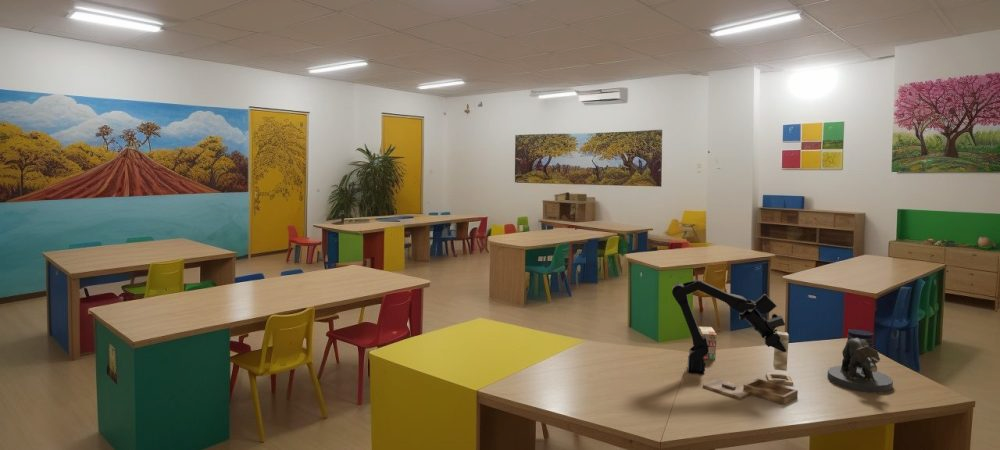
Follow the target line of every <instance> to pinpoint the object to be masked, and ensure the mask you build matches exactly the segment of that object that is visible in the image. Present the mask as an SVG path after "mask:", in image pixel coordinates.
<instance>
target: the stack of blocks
mask: <svg viewBox="0 0 1000 450" xmlns="http://www.w3.org/2000/svg"><path fill="white" fill-rule="evenodd" d="M698 328H699V331H700V333H701V334H702V336H704V335H706V339H707V341H708V342H709V348H708V350H709V351H708V354H707V355H706V356H704V357H703V358H704V360H714V361H715V360H716V358H717V357H716V356H717V355H716V352H717V350H716V349H717V348H716V347H717V335H718V334H717V333H716V331H715V329H714V328H713V327H712V326H698Z"/></svg>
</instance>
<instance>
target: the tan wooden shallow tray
mask: <svg viewBox="0 0 1000 450" xmlns="http://www.w3.org/2000/svg"><path fill="white" fill-rule="evenodd" d="M742 387H743V390H747V391H750V392H751V395H750V396H755V397H758V398H761V399H764V400H767V401H770V402H774V403H777V404H780V405H783V406H784V405H786V404H788V403H791V402H793V401H794V400H796V399H798V392H799V391H798V389H796V388H795V389H794V388H791V387H788V386H784V385H782V384H777V383H771V382H768V380H764V379H762V378H756V379H753V380H751V381H748V382H746V383H744V384H743V386H742Z"/></svg>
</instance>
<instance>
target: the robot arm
mask: <svg viewBox="0 0 1000 450" xmlns="http://www.w3.org/2000/svg"><path fill="white" fill-rule="evenodd" d="M671 289H672V290H671V293H672V296H673V298H674V300H675V301H676V302H677V303H678V306H680V309H681V311H682V315H683V316H684V319H685V322H686V325H687V327H688V329H689V332H690V336H691V338H692V344H693V346H691V347H690V348H689V350H688V353H689V355H687V367H686V368H687V372H688V373H689V374H701V375H704V374H705V371H706V361H705V359H704V358H703V357H704V356H706V355H707V354H708V351H709V350H708V348H709V342H708V341H707V339H706V335H704V336H702V334H701V333H700V331H699V326H698V323H697V321H696V319H695V316H694V313H693V311H692V309H691V308H692V307H691V305H690V303H689V299H688V298H689V297H688V295H690V294H692V293H694V292H696V291H700V292H702V293H705V294H707V295H709V296H710V297H713V298H715V299H717V300H720V301H722V302H724V303H725V304H727V306H729V307H731V308H732V309H733V310H735V311H736V312H737V313H738V314H739V322H740V321H741V322H742V321H743V320H744V319H745V321H747V322H748V324H749V325H751V327H752V328H753V330H754V331H756V332H757V333H758V334H759V335H760V336H761V338H762V339H763V342H764V344H765V345H766V346H767V347H768V348H770V347H771V348H773V349H774V348H776V349H778V350H780V351H782V352H786V349H785V348H784V346H783V345H782V343H781V342H780V338H781V337H780V335H779V334H778V333H777V332H779V331H778V329H776V328H779V327H784V326H786V323H785V320H784V318H783V316H782V315H780V314H779V315H778V314H777V313H772V314H771V318H769V319H767V318H765V317H763V316H762V315H768V314H769V313H770V312H771V311H773V310H774V309H776V308H777V307H778V306H777V304H776V303H775V302H774V301H773V299H771V298H770V297H769V296H768V295H767V294H765V293H763V294H762V295H761V296H760V297H759V298H758V299H756V300H752V299H746V297H744V296H743V295H738V294H735V293H730V292H726V291H724V290H722V289H720V288H718V287H716V286H713V285H711V284H709V283H707V282H705V281H703V280H702V279H700V278H699V279H695V280H692V281H686V282H683V283H681V282H677V283H675V284H673V286H672V288H671ZM775 331H776V332H775Z"/></svg>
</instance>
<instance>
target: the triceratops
mask: <svg viewBox="0 0 1000 450" xmlns="http://www.w3.org/2000/svg"><path fill="white" fill-rule="evenodd" d="M847 340H848V339H847ZM847 340H846V342H845V345H844V348H843V349H842V351H841V352H842V357H843V359H842V361H841V363H842V364H841V365H836V366H831V367H829V368H828V370H827V379H828V381H830V382H831V383H832V384H835V385H837V386H839V387H843V388H845V389H848V390H852V391H856V392H857V391H858V392H862V393H863V392H865V393H873V394H874V393H875V392H876V393H875V394H880V393H879V392H882V393H888V392H890V391H892V390H893V387H894V386H893V384H894V380H893V379H892V377H891V376H889V375H887V374H885V373H883V372H881V371H878V366H877V363H879V362H881V358H880V355H879V352H878V350H876V349H874V348H873V347H872V348H870V346H869V344H868V343H867V342H866V341H865V340H864V339H859V338H855V339H849V340H848V341H847ZM850 359H851V361H850ZM849 364H850V365H849ZM856 365H859V366H861V367H862V368H861V367H856Z"/></svg>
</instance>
